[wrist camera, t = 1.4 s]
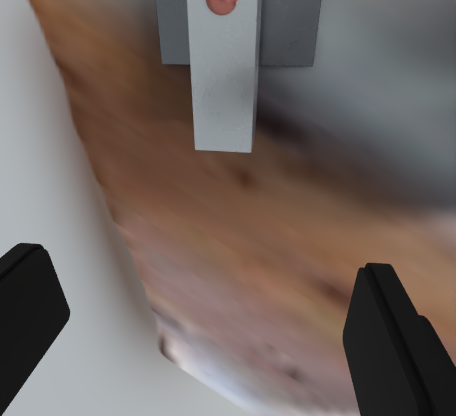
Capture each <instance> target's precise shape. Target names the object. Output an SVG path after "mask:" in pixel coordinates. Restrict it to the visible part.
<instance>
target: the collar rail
mask: <svg viewBox="0 0 456 416" xmlns="http://www.w3.org/2000/svg"><path fill="white" fill-rule="evenodd" d="M320 5H321V0H262V6H261V27H260V49H259V66H313V60H314V52H315V44H316V36H317V29H318V21H319V13H320ZM156 7H157V17H158V27H159V38H160V48H161V59H162V64H190V47H189V28H188V10H187V0H156Z"/></svg>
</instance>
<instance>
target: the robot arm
mask: <svg viewBox="0 0 456 416" xmlns="http://www.w3.org/2000/svg"><path fill="white" fill-rule="evenodd" d="M69 316H70V309H69V307H68V304H67V301H66V298H65V296H64V293H63V291H62V288H61V285H60V283H59V280H58V277H57V274H56V272H55V269H54V266H53V264H52V261H51V258H50V256H49V253H48V251H47V250H46V249H44V248H43V246H42V245H40V244H30V243H20V244H17V245H16V246H14V247H13V248H12V249H11V250H9V251H8V252H7V253H6V254H5V255H3V256H2V257H1V258H0V416H2V414H3V412H5V410H6V409H7V407H8V406H9V404H10V403H11V402H12V400H13V399H14V397H15V396H16V394H17V393H18V392H19V390H20V389H21V387H22V386H23V384H24V383H25V382H26V380H27V379H28V377H29V376H30V374H31V373H32V372H33V370H34V369H35V367H36V366H37V364H38V363H39V361H40V360H41V359H42V357H43V356H44V355H45V353H46V351H47V350H48V349H49V347H50V346H51V344H52V343H53V342H54V340H55V339H56V337H57V336H58V335H59V333H60V332H61V330H62V329H63V327H64V326H65V325H66V323H67V322H68V320H69ZM343 345H344V349H345V353H346V357H347V361H348V366H349V370H350V374H351V378H352V382H353V386H354V390H355V394H356V398H357V402H358V406H359V411H360V415H361V416H456V367H455V365H454V364H453V362H452V360H451V358H450V356H449V355H448V353H447V351H446V349H445V348H444V346H443V344H442V342H441V341H440V339H439V337H438V335H437V334H436V332H435V330H434V328H433V326H432V325H431V323H430V322H429V320H428V319H427V318H426V317H424V316H421V315H418V313H417V311H416V309H415V308H414V306H413V304H412V302H411V300H410V298H409V296H408V295H407V293H406V291H405V289H404V287H403V285H402V283H401V282H400V280H399V278H398V276H397V274H396V272H395V271H394V269H393V267H392V266H391V265H390V264H382V263H367V264H366V266H365V268H359V270H358V273H357V277H356V281H355V285H354V289H353V294H352V298H351V302H350V306H349V310H348V314H347V318H346V322H345V326H344V330H343Z"/></svg>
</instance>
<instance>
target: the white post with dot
mask: <svg viewBox="0 0 456 416" xmlns="http://www.w3.org/2000/svg"><path fill="white" fill-rule="evenodd" d="M261 6H262V0H187V10H188V28H189V47H190V65H191V84H192V102H193V121H194V139H195V150H210V151H228V152H247V153H251V151H252V147H253V143H254V140H255V134H256V113H257V92H258V70H259V49H260V27H261Z"/></svg>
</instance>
